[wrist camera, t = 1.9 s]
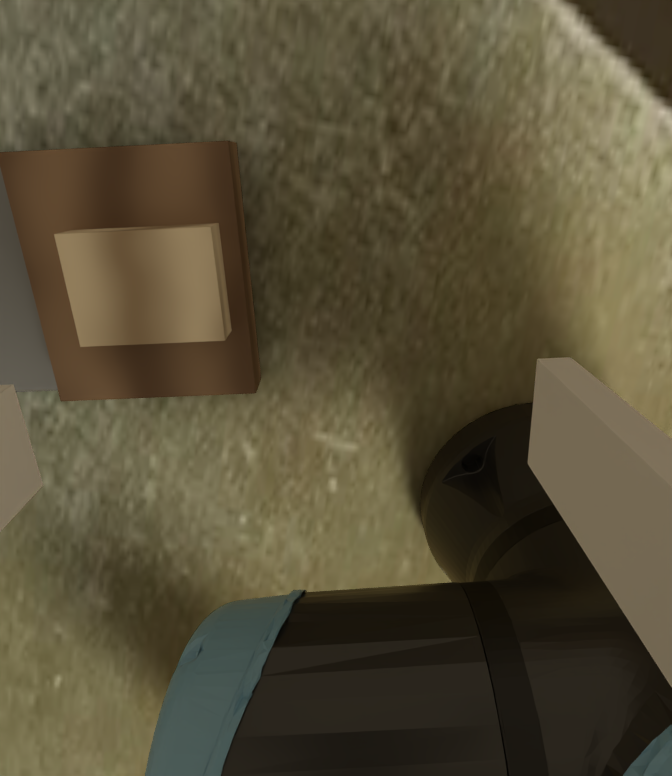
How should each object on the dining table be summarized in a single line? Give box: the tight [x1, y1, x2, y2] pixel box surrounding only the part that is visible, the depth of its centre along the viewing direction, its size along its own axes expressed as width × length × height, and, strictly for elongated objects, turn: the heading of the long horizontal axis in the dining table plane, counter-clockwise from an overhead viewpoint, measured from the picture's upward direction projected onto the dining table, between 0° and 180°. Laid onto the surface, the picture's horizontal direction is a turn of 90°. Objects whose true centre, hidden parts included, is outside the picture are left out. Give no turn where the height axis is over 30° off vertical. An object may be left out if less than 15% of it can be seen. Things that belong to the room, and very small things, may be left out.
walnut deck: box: [0, 141, 261, 401], centre depth 32 cm, size 12×14×2 cm
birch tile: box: [54, 223, 232, 347], centre depth 29 cm, size 8×6×2 cm
